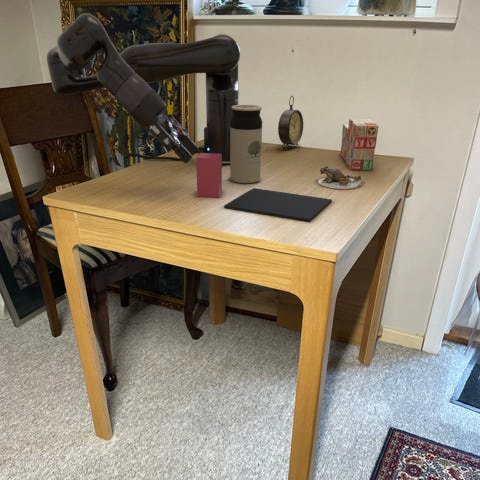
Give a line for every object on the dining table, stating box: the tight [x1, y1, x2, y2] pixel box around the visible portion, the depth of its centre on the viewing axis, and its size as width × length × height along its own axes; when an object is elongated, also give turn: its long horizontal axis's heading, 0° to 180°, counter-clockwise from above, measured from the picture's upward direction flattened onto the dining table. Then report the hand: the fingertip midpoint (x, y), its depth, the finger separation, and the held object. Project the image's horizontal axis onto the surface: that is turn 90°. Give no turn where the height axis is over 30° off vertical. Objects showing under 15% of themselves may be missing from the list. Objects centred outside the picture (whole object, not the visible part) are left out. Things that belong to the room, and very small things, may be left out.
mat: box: [223, 187, 333, 223], centre depth 113 cm, size 20×16×1 cm
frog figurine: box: [317, 165, 363, 190], centre depth 129 cm, size 12×12×4 cm
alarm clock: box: [277, 95, 304, 151], centre depth 165 cm, size 11×5×16 cm, turn 148°
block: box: [195, 153, 223, 198], centre depth 117 cm, size 5×5×9 cm
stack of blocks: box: [340, 117, 379, 171], centre depth 149 cm, size 21×6×12 cm, turn 178°
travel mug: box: [229, 104, 263, 184], centre depth 127 cm, size 8×8×18 cm
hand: (192, 156), depth 116 cm, fingers open, 8 cm apart
